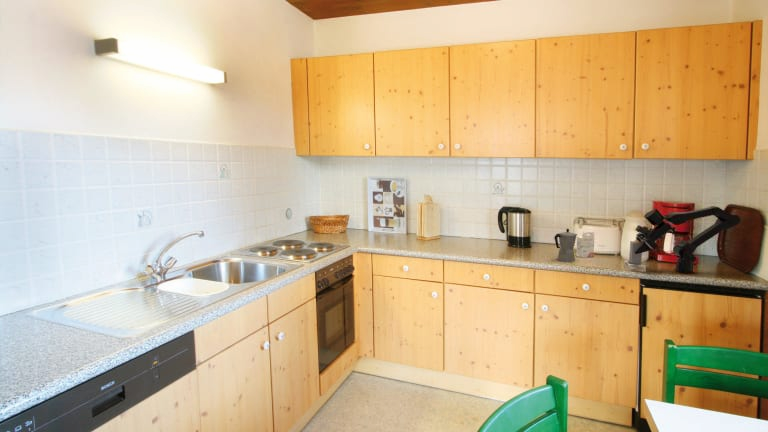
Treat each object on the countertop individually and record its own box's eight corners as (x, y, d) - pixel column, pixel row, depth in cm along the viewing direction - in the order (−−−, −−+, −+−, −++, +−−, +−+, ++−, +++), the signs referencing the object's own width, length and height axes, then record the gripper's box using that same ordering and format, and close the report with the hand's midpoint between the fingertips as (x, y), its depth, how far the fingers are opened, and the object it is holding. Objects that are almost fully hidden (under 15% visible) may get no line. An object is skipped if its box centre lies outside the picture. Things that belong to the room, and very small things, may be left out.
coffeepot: (569, 257, 259) (571, 226, 257) (581, 261, 251) (583, 229, 248) (547, 259, 254) (549, 228, 252) (559, 263, 245) (561, 231, 243)
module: (638, 265, 235) (640, 239, 233) (640, 268, 230) (642, 241, 228) (628, 265, 236) (630, 239, 234) (631, 267, 231) (633, 241, 229)
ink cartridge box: (587, 255, 266) (589, 230, 264) (593, 256, 261) (595, 232, 259) (575, 255, 263) (576, 231, 262) (581, 257, 259) (582, 232, 257)
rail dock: (640, 267, 236) (641, 261, 236) (645, 271, 227) (646, 265, 227) (623, 266, 239) (624, 260, 238) (628, 270, 230) (628, 264, 229)
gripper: (641, 217, 237) (617, 237, 242) (652, 222, 220) (625, 243, 224) (657, 233, 236) (632, 252, 241) (669, 239, 218) (642, 260, 223)
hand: (632, 251), depth 232 cm, fingers open, 9 cm apart
